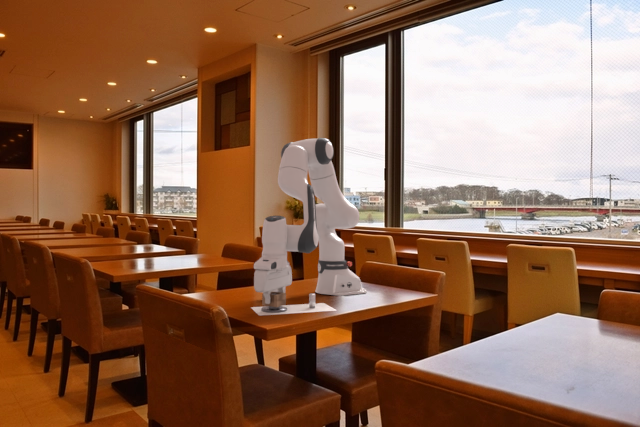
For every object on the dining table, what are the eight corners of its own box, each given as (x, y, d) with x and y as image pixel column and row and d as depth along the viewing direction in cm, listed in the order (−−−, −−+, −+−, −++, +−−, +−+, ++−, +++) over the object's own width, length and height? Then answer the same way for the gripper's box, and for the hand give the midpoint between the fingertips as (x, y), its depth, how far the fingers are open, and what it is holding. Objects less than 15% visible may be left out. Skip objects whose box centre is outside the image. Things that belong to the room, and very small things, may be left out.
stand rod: (314, 306, 186) (314, 293, 186) (316, 308, 184) (316, 294, 184) (308, 307, 186) (308, 293, 185) (310, 308, 183) (310, 294, 183)
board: (323, 306, 194) (323, 303, 194) (337, 314, 181) (337, 310, 181) (250, 311, 185) (250, 307, 184) (259, 319, 171) (259, 315, 171)
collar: (271, 302, 184) (271, 291, 184) (285, 304, 181) (285, 292, 181) (262, 305, 179) (262, 293, 179) (277, 307, 176) (277, 295, 176)
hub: (283, 306, 186) (283, 291, 186) (290, 311, 177) (290, 295, 177) (258, 308, 183) (259, 292, 183) (264, 313, 174) (264, 296, 174)
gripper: (281, 259, 191) (281, 296, 191) (250, 264, 172) (250, 305, 172) (296, 260, 188) (296, 297, 188) (267, 265, 169) (266, 307, 170)
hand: (273, 301), depth 180 cm, fingers closed on collar, 6 cm apart
